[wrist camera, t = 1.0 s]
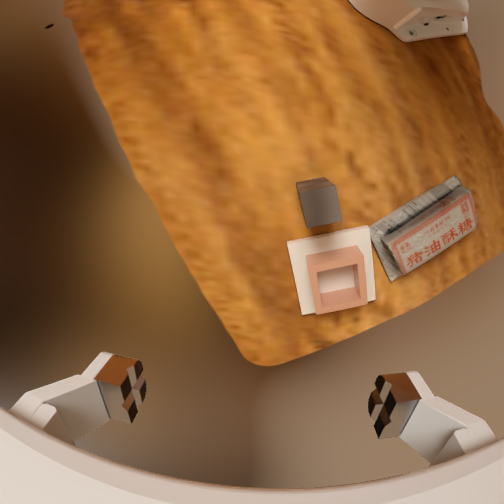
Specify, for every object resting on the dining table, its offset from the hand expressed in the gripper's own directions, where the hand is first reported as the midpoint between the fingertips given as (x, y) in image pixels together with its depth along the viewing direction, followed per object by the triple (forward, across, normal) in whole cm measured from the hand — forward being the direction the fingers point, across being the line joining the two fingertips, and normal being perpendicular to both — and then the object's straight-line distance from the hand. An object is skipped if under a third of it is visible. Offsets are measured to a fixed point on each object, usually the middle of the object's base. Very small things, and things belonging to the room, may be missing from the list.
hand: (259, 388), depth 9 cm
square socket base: (+33, -11, +6) cm, 36 cm away
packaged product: (+32, -25, -2) cm, 41 cm away
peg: (+32, -6, -5) cm, 33 cm away
